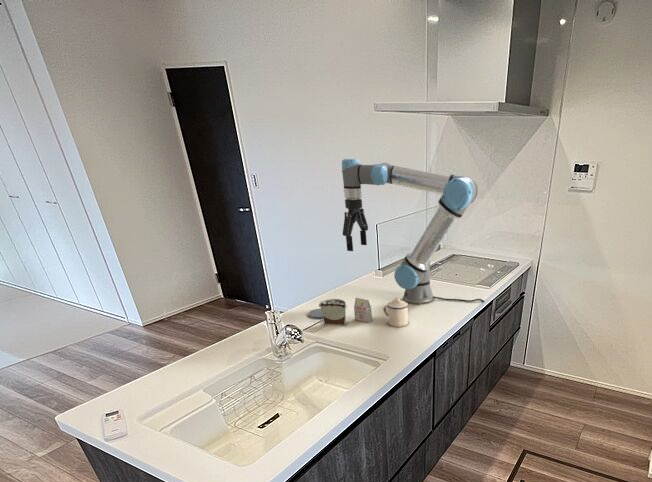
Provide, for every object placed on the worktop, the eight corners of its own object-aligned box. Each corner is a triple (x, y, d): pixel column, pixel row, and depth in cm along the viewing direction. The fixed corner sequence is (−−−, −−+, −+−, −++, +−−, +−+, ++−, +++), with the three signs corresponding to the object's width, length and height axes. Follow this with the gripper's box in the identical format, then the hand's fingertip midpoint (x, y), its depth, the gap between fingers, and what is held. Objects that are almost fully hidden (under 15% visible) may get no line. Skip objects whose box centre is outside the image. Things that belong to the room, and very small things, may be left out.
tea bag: (359, 317, 199) (358, 296, 194) (372, 319, 196) (370, 298, 191) (355, 319, 196) (353, 298, 191) (367, 322, 194) (366, 301, 188)
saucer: (337, 312, 204) (336, 310, 204) (324, 320, 196) (324, 317, 195) (317, 309, 207) (316, 307, 207) (304, 316, 199) (303, 314, 198)
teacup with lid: (412, 321, 195) (411, 297, 189) (401, 328, 188) (400, 302, 182) (389, 317, 200) (388, 292, 194) (378, 323, 193) (377, 298, 187)
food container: (351, 320, 196) (349, 299, 190) (348, 325, 190) (346, 303, 185) (325, 319, 196) (322, 297, 191) (321, 324, 191) (318, 302, 186)
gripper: (358, 195, 202) (362, 241, 213) (331, 201, 182) (336, 252, 193) (373, 195, 200) (376, 243, 211) (346, 202, 180) (351, 254, 191)
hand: (357, 247), depth 202 cm, fingers open, 13 cm apart
